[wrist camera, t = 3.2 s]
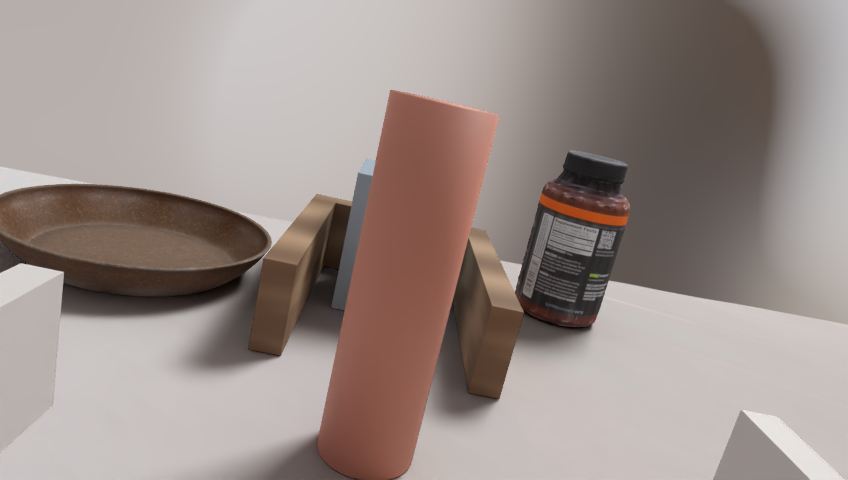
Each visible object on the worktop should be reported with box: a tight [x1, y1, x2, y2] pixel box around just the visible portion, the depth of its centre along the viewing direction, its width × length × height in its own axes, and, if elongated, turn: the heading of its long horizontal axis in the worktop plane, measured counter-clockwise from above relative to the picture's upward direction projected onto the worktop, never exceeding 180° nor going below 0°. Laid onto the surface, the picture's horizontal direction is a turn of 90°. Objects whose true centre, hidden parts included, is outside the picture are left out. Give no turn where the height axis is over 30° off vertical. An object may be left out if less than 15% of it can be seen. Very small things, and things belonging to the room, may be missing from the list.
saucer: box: [0, 184, 272, 297], centre depth 36 cm, size 15×15×3 cm
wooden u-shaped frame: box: [248, 194, 524, 399], centre depth 36 cm, size 16×12×4 cm
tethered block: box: [317, 90, 499, 480], centre depth 30 cm, size 21×6×13 cm, turn 1°
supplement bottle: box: [515, 151, 630, 327], centre depth 42 cm, size 6×6×11 cm
